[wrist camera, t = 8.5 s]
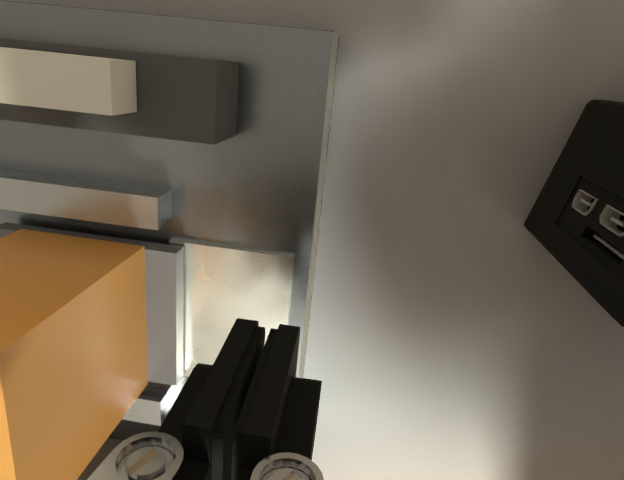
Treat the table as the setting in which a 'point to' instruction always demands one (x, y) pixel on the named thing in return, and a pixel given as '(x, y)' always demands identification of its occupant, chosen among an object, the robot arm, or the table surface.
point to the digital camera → (588, 206)
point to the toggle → (80, 342)
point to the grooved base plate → (118, 100)
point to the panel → (190, 176)
